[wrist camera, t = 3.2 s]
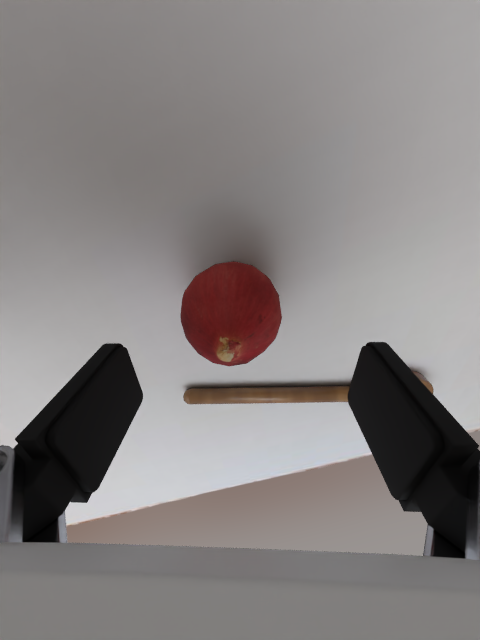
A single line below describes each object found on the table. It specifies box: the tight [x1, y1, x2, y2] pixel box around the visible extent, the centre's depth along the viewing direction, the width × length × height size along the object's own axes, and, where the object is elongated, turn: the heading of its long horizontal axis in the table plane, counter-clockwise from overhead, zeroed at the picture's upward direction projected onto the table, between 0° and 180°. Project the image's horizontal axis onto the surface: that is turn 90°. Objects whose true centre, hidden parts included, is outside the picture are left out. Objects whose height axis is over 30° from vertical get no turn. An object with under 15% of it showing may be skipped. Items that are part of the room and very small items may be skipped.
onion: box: [181, 261, 282, 366], centre depth 13 cm, size 6×6×8 cm
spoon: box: [183, 371, 433, 404], centre depth 21 cm, size 23×5×1 cm, turn 92°
